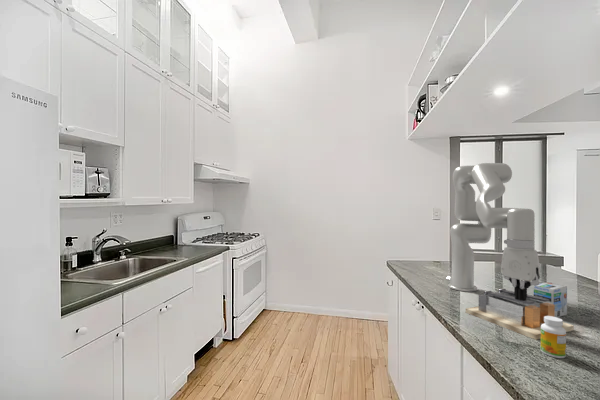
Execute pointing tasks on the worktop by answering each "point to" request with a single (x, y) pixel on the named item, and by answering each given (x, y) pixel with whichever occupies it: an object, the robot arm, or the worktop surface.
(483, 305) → the grey and orange fixture
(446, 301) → the worktop surface
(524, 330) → the board
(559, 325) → the supplement bottle
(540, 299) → the strap
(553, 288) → the light bulb box
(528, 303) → the strap
